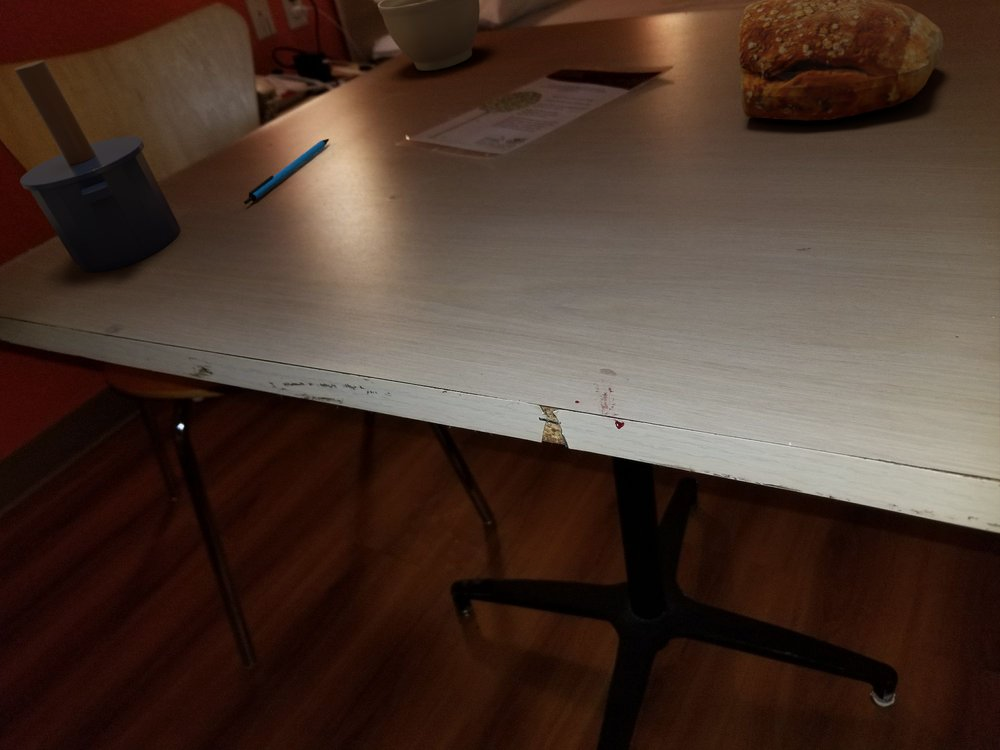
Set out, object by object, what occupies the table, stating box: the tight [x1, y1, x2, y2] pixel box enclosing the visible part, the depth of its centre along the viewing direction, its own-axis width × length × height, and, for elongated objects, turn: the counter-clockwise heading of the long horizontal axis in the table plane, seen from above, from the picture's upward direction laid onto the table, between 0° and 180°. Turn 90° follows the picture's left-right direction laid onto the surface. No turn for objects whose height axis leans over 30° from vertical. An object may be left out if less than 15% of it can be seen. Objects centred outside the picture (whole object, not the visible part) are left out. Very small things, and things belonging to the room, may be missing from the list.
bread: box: [737, 0, 945, 122], centre depth 72 cm, size 20×18×10 cm
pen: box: [243, 138, 330, 205], centre depth 90 cm, size 1×19×1 cm, turn 160°
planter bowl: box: [377, 0, 481, 72], centre depth 118 cm, size 16×16×11 cm
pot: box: [29, 150, 181, 273], centre depth 79 cm, size 11×17×10 cm
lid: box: [13, 59, 145, 191], centre depth 73 cm, size 12×12×11 cm
